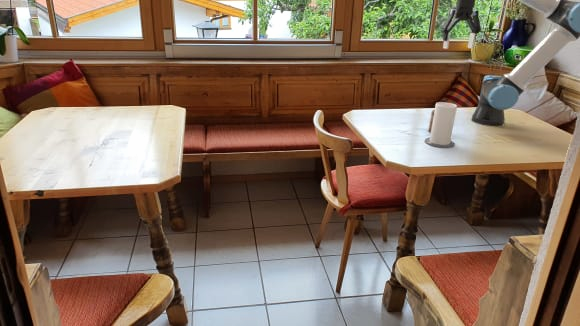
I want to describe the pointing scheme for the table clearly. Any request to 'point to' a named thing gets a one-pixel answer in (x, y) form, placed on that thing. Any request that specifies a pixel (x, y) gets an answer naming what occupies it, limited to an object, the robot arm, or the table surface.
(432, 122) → the pepper mill
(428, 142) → the coaster
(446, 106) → the cup
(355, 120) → the table surface
